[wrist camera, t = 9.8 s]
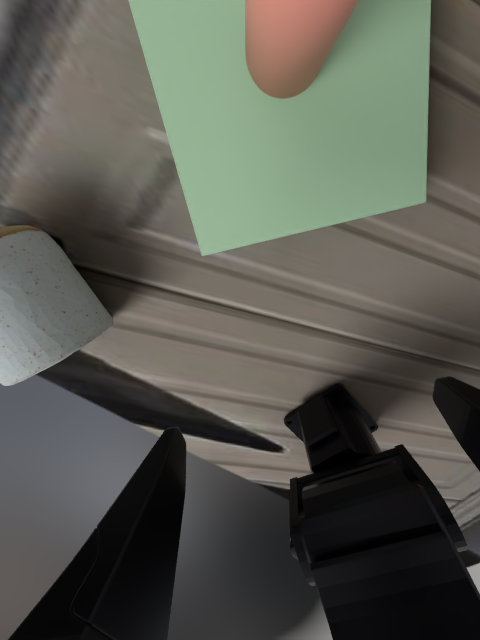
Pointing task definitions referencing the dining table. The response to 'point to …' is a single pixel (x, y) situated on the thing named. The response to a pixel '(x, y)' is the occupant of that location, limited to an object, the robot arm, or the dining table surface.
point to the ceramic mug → (41, 305)
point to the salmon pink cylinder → (291, 41)
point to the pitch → (290, 120)
